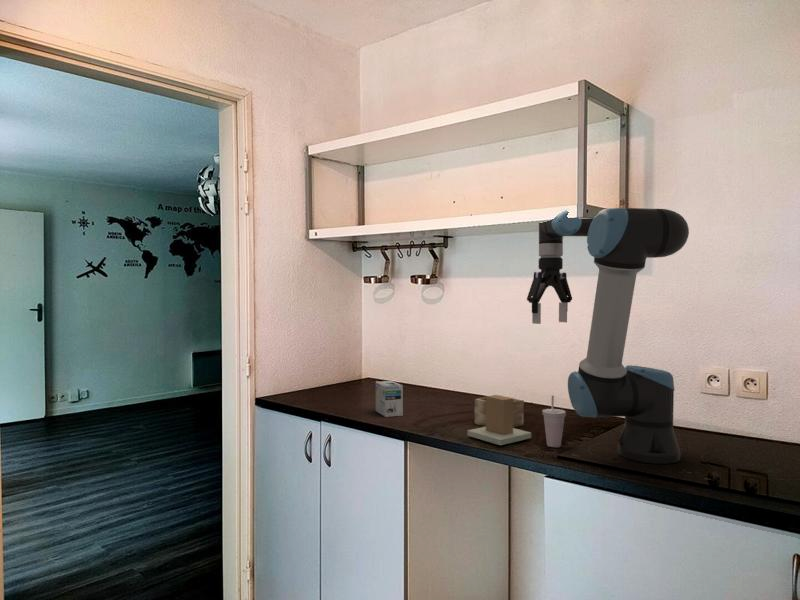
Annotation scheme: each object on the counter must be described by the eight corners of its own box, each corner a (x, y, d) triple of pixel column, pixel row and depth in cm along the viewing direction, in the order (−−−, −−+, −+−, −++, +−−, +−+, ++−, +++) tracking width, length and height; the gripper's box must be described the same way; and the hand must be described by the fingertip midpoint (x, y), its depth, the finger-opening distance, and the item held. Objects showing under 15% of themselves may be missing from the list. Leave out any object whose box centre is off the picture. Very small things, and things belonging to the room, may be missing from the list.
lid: (531, 437, 163) (531, 398, 163) (500, 445, 156) (501, 403, 155) (497, 428, 174) (498, 391, 174) (467, 435, 166) (467, 396, 166)
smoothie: (537, 443, 160) (537, 394, 159) (556, 441, 162) (556, 392, 162) (551, 449, 154) (551, 398, 153) (570, 447, 156) (571, 396, 156)
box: (523, 425, 181) (523, 400, 181) (500, 430, 174) (500, 404, 174) (497, 418, 190) (497, 395, 190) (474, 423, 183) (474, 398, 183)
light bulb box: (403, 416, 194) (403, 384, 193) (385, 417, 191) (385, 386, 191) (392, 409, 204) (392, 380, 203) (374, 411, 201) (374, 381, 201)
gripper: (564, 259, 193) (563, 321, 193) (515, 256, 178) (515, 323, 178) (583, 258, 187) (582, 322, 188) (534, 255, 172) (534, 324, 172)
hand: (549, 323), depth 183 cm, fingers open, 13 cm apart
